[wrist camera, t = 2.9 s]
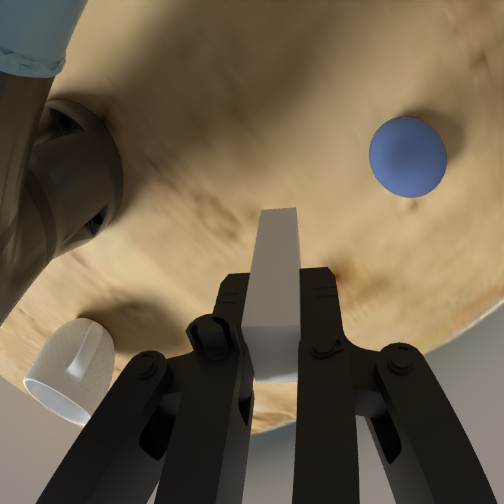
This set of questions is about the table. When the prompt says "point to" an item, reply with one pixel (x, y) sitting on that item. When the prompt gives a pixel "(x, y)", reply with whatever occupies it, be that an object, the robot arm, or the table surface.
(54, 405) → the mug
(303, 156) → the table surface
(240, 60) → the table surface
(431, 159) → the ball
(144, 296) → the table surface
